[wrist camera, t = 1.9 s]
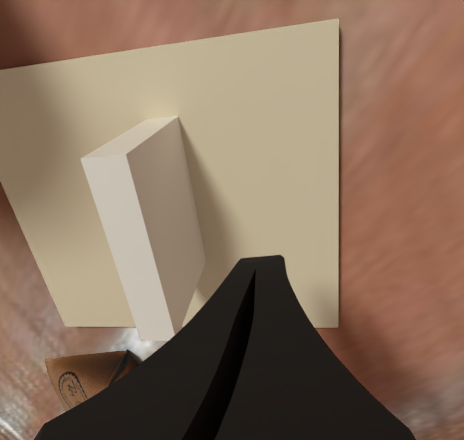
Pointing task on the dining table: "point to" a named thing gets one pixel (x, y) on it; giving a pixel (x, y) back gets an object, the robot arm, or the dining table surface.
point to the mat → (197, 154)
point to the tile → (150, 222)
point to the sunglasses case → (86, 374)
